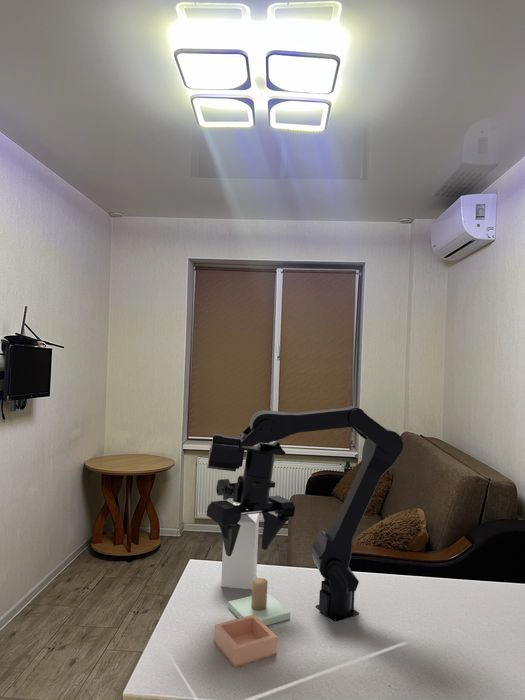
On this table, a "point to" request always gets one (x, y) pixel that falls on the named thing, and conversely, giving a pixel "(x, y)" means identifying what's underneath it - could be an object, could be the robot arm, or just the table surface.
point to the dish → (245, 640)
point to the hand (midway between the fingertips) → (246, 552)
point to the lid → (259, 605)
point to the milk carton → (242, 555)
